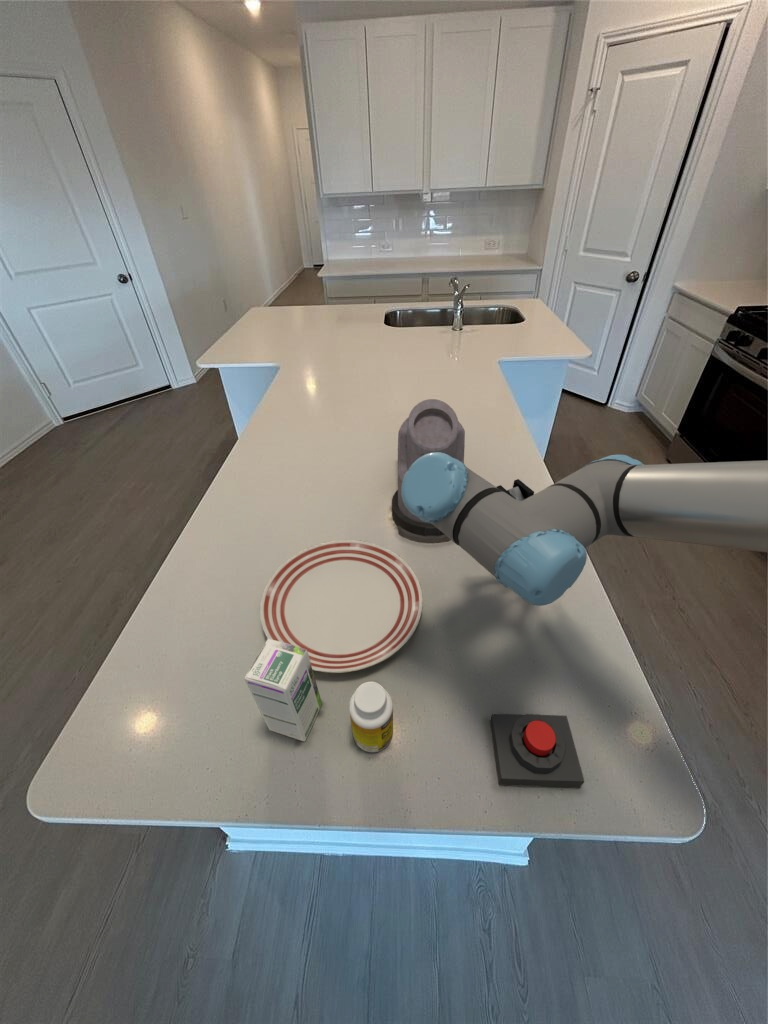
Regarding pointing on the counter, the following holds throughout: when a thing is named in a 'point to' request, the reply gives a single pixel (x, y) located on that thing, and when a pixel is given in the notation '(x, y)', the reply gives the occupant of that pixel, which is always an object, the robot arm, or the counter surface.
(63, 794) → the counter surface
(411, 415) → the grey piece
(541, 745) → the button
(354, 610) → the dinner plate
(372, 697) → the supplement bottle
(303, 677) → the syrup box
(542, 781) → the button block
